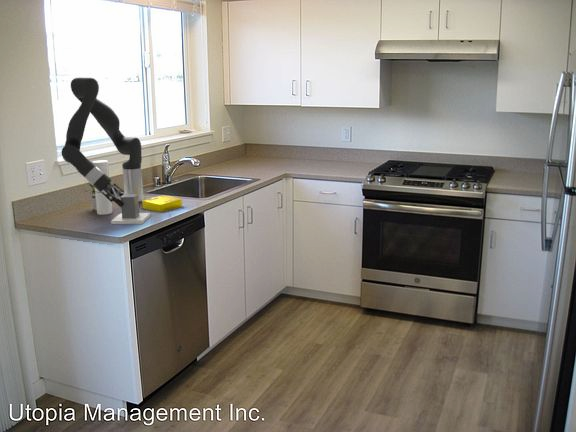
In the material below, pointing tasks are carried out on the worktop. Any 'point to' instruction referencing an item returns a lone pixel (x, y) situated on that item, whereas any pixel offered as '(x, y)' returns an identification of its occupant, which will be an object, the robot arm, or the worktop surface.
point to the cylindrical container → (101, 201)
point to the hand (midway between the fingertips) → (125, 203)
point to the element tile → (162, 203)
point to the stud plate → (138, 220)
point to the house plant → (93, 196)
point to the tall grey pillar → (130, 206)
